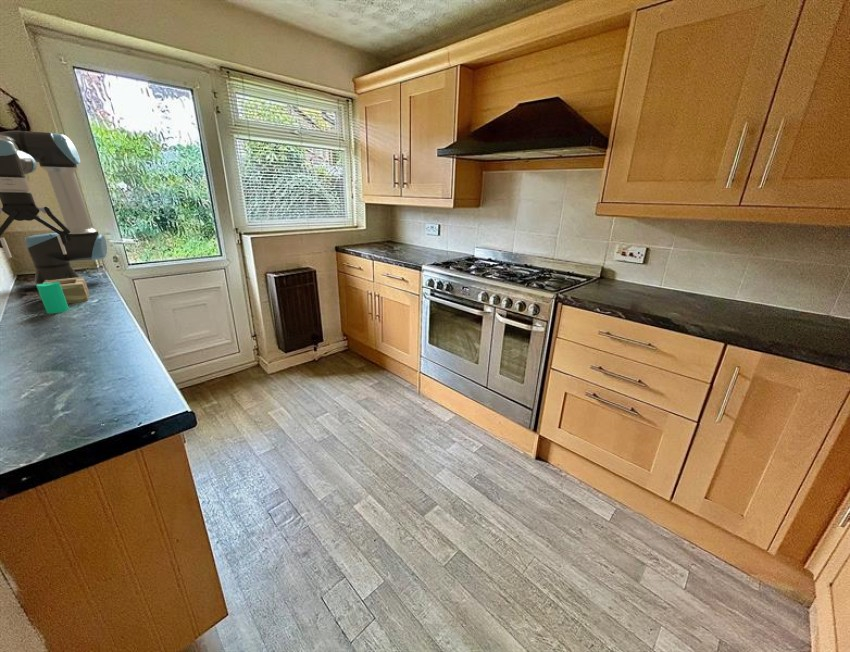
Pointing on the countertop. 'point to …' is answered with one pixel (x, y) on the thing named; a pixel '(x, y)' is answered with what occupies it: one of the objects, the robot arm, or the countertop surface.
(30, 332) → the countertop surface
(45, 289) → the candle
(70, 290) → the box
